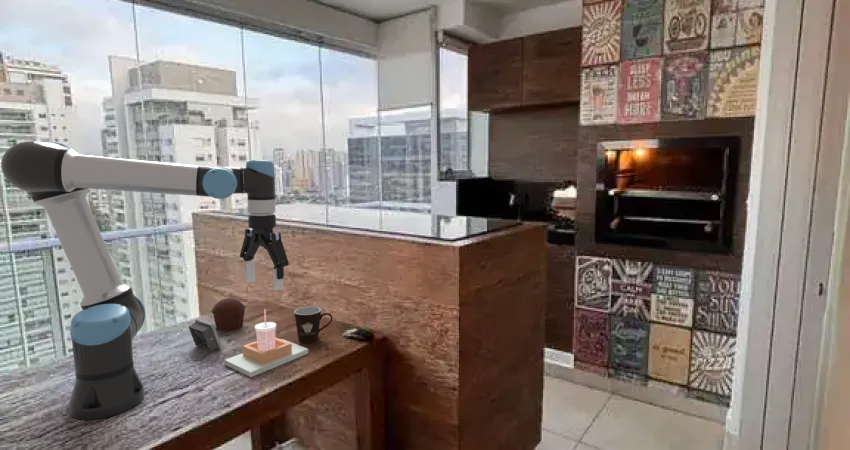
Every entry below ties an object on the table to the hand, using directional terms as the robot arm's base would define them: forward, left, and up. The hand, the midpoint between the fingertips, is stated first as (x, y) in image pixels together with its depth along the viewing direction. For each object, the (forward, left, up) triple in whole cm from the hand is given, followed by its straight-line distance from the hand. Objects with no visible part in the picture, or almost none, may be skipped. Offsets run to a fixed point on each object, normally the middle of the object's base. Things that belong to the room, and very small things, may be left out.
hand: (264, 285), depth 136 cm
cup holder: (0, 0, -23) cm, 23 cm away
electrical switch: (-7, +22, -23) cm, 32 cm away
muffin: (+8, +34, -23) cm, 42 cm away
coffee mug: (+18, +1, -23) cm, 29 cm away
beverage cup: (0, 0, -21) cm, 21 cm away
